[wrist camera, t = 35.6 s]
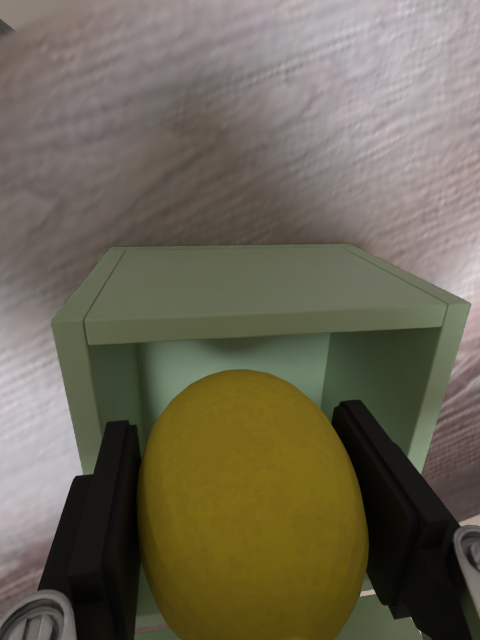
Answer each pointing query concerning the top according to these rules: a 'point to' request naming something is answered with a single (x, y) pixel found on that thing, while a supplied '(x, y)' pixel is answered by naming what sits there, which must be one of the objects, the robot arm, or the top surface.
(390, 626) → the lid
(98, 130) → the top surface
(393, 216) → the top surface
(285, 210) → the top surface
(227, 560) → the lemon
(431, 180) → the top surface
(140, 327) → the chest
